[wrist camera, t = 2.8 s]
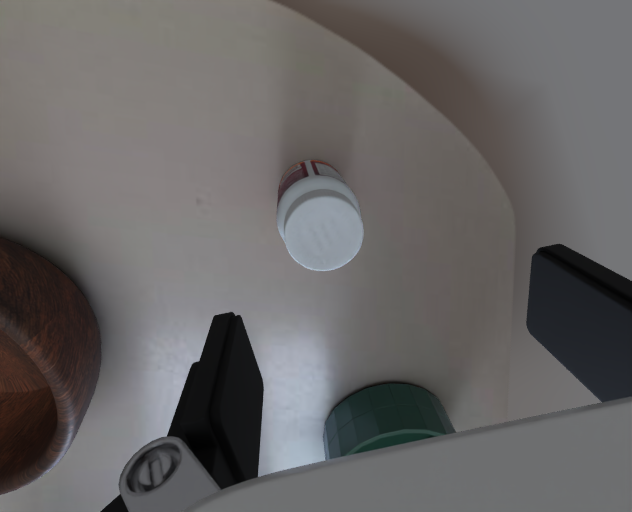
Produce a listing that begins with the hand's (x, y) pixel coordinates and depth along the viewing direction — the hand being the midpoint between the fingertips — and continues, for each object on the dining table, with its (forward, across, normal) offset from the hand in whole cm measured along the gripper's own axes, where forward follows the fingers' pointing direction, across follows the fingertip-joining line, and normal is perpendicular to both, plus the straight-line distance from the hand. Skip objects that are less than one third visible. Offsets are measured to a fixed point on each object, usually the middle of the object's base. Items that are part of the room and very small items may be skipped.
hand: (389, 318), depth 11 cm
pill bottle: (+23, +1, +1) cm, 23 cm away
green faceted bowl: (+23, -2, +34) cm, 41 cm away
